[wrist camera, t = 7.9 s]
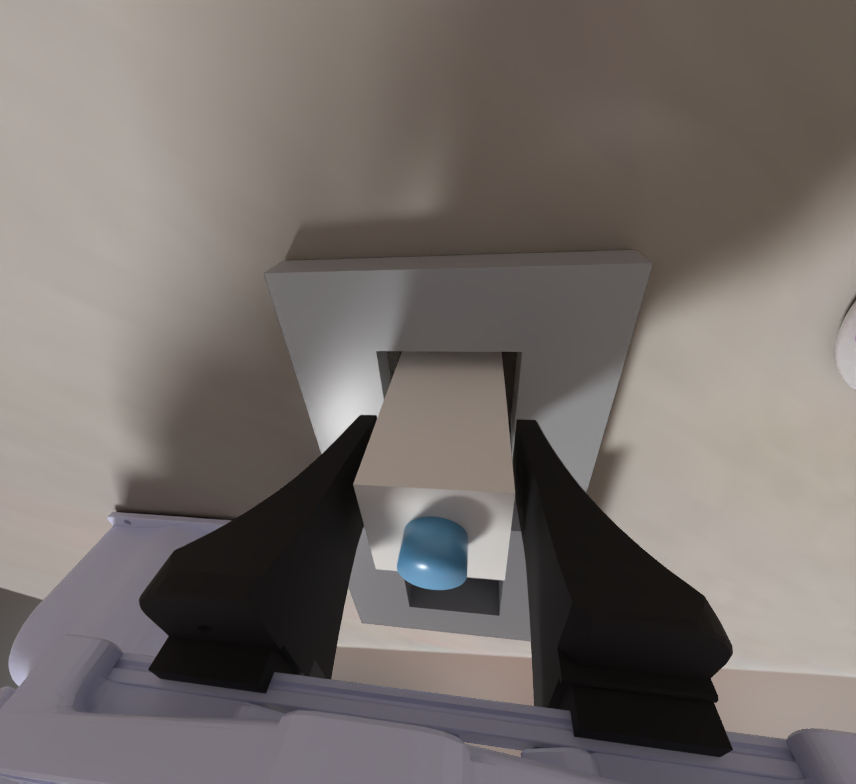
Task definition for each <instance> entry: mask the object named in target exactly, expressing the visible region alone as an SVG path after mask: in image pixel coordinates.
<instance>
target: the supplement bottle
mask: <svg viewBox="0 0 856 784" xmlns="http://www.w3.org/2000/svg"><path fill="white" fill-rule="evenodd" d="M835 359H836V364H837V367H838V370H839V372H840V374H841V375H842V377H843V378H844V380H845V381H846V382H847V383H848V384H849V385H850V386H851V387H852V388H853V389H855V390H856V301H855V302H854V304H853V305H852V306H851V308H850V309H849V311H848V313H847V314H846V316H845V318H844V320H843V322H842V324H841V327H840V329H839V332H838V335H837V339H836V344H835Z"/></svg>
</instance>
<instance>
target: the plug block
mask: <svg viewBox="0 0 856 784" xmlns="http://www.w3.org/2000/svg"><path fill="white" fill-rule="evenodd" d="M353 486H354V490H355V493H356V497H357V501H358V504H359V508H360V512H361V516H362V519H363V523H364V527H365V531H366V534H367V538H368V542H369V546H370V549H371V553H372V557H373V560H374V564H375V568H376V569H379V570H390V571H398V573H399V574H400V576H401V577H402V578H403V579H405V580H406V581H407V582H409V583H411V584H413V585H415V586H418V587H421V588H425V589H431V590H448V589H453V588H456V587H458V586H460V585H462V584H463V583H464V582H465V580H466V578H467V577H471V578H482V579H493V580H505V575H506V566H507V558H508V550H509V541H510V533H511V524H512V516H513V508H514V499H515V486H514V476H513V465H512V455H511V444H510V433H509V423H508V412H507V402H506V391H505V381H504V370H503V360H502V352H446V351H402V353H401V356H400V358H399V361H398V364H397V366H396V369H395V372H394V375H393V377H392V380H391V383H390V385H389V388H388V391H387V394H386V396H385V399H384V402H383V404H382V407H381V410H380V413H379V415H378V418H377V421H376V424H375V426H374V429H373V432H372V434H371V437H370V440H369V443H368V445H367V448H366V451H365V453H364V456H363V459H362V462H361V464H360V467H359V470H358V472H357V475H356V478H355V481H354V483H353Z"/></svg>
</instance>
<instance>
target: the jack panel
mask: <svg viewBox="0 0 856 784" xmlns="http://www.w3.org/2000/svg"><path fill="white" fill-rule="evenodd" d="M652 266H653V263H652V262H651V261H650V260H648V259H647V258H646V257H644V256H643V255H642V254H640V253H639V252H637V251H636V250H612V251H580V252H548V253H515V254H483V255H450V256H418V257H386V258H353V259H321V260H288V261H282V262H281V263H279V264H278V265H276V266H274V267H273V268H271V269H270V270H268V271H266V272H265V273H264V276H265V279H266V282H267V286H268V289H269V292H270V295H271V298H272V301H273V304H274V307H275V311H276V314H277V317H278V320H279V323H280V326H281V329H282V332H283V336H284V339H285V342H286V345H287V348H288V351H289V354H290V358H291V361H292V364H293V367H294V370H295V373H296V376H297V379H298V383H299V386H300V389H301V392H302V395H303V398H304V401H305V404H306V408H307V411H308V414H309V417H310V420H311V423H312V426H313V430H314V433H315V436H316V439H317V442H318V445H319V448H320V451H321V454H322V453H323V452H324V451H325V450H326V449H327V448H328V447H329V446H330V445H331V444H332V443H334V442H335V441H336V439H337V438H338V437H339V436H340V435H341V434H342V433H343V432H344V431H345V430H346V429H347V428H348V427H349V426H350V425H351V424H352V423H353V422H354V421H355V420H356V419H357V418H358V417H359V416H360V415H377V418H378V415H379V413H380V410H381V407H382V404H383V402H384V399H385V396H386V394H387V391H388V388H389V385H390V383H391V380H392V379H391V372H390V365H389V358H388V351H446V352H517V358H516V369H515V379H514V390H513V401H512V412H511V423H510V444H511V455H512V459H513V450H514V440H515V430H516V421H517V419H524V420H536V421H537V422H538V424H539V426H540V428H541V429H542V431H543V433H544V435H545V436H546V438H547V440H548V441H549V443H550V445H551V446H552V448H553V449H554V451H555V452H556V454H557V455H558V457H559V458H560V460H561V461H562V463H563V464H564V465H565V467H566V468H567V470H568V471H569V472H570V474H571V475H572V476H573V477H574V479H575V480H576V481H577V482H578V484H579V485H580V486H581V487H582V489H583V490H584V491H585V492H586V493H587V489H588V486H589V482H590V479H591V476H592V472H593V469H594V465H595V462H596V458H597V455H598V452H599V448H600V445H601V441H602V438H603V434H604V431H605V427H606V424H607V421H608V417H609V414H610V410H611V407H612V403H613V400H614V397H615V393H616V390H617V386H618V383H619V379H620V376H621V372H622V369H623V366H624V362H625V359H626V355H627V352H628V348H629V345H630V341H631V338H632V335H633V331H634V328H635V324H636V321H637V317H638V314H639V311H640V307H641V304H642V300H643V297H644V293H645V290H646V286H647V283H648V280H649V276H650V273H651V269H652ZM348 587H349V590H350V593H351V595H352V598H353V601H354V604H355V606H356V609H357V612H358V614H359V617H360V620H361V623H366V624H375V625H384V626H393V627H403V628H412V629H421V630H430V631H440V632H449V633H458V634H467V635H477V636H486V637H495V638H504V639H514V640H523V641H531V633H530V617H529V602H528V587H527V574H526V561H525V553H524V546H523V540H522V535H521V529H520V523H519V517H518V511H517V505H516V500H515V499H514V508H513V516H512V524H511V533H510V541H509V550H508V558H507V566H506V575H505V580H493V579H482V578H471V577H467V578H466V580H465V582H464V583H463V584H462V585H460V586H458V587H456V588H453V589H448V590H431V589H425V588H421V587H418V586H415V585H413V584H411V583H409V582H407V581H406V580H405V579H403V578H402V577H401V576H400V574H399V573H398V571H390V570H379V569H376V568H375V564H374V560H373V557H372V553H371V549H370V546H369V542H368V538H367V534H366V531H365V527H363V530H362V533H361V536H360V540H359V543H358V546H357V550H356V554H355V559H354V563H353V567H352V572H351V576H350V581H349V585H348Z"/></svg>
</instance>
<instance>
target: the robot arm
mask: <svg viewBox="0 0 856 784" xmlns="http://www.w3.org/2000/svg"><path fill="white" fill-rule="evenodd" d="M376 421H377V415H360V416H359V417H358V418H357V419H356V420H355V421H354V422H353V423H352V424H351V425H350V426H349V427H348V428H347V429H346V430H345V431H344V432H343V433H342V434H341V435H340V436H339V437H338V438H337V439H336V441H335V442H334V443H332V444H331V445H330V446H329V447H328V448H327V449H326V450H325V451H324V452H323V453H322V454H321V455H320V456H319V457H318V458H317V459H316V460H315V461H314V462H313V463H312V464H311V465H309V466H308V467H307V468H306V469H305V470H304V471H303V472H302V473H300V474H299V475H298V476H297V477H296V478H294V479H293V480H292V481H291V482H289V483H288V484H287V485H285V486H284V487H283V488H281V489H280V490H279V491H277V492H276V493H275V494H273V495H272V496H270V497H269V498H267V499H266V500H264V501H263V502H261V503H260V504H258V505H257V506H255V507H254V508H252V509H251V510H249V511H247V512H246V513H244V514H242V515H241V516H239V517H237V518H236V519H234V520H219V519H205V518H191V517H178V516H164V515H150V514H136V513H122V512H112V513H111V514H110V515H109V516H108V520H109V522H110V523H111V524H112V525H113V527H112V528H111V529H110V530H109V531H108V532H107V533H106V534H105V535H104V536H103V537H102V539H101V540H100V541H99V542H98V543H97V544H96V545H95V546H94V547H93V548H92V549H91V550H90V551H89V552H88V553H87V554H86V555H85V557H84V558H83V559H82V560H81V561H80V562H79V563H78V564H77V565H76V566H75V567H74V568H73V569H72V570H71V571H70V572H69V573H68V575H67V576H66V577H65V578H64V579H63V580H62V581H61V582H60V583H59V584H58V585H57V586H56V587H55V588H54V589H53V590H52V591H51V593H50V594H49V595H48V596H47V597H46V598H45V599H44V600H43V601H42V602H41V603H40V604H39V605H38V606H37V607H36V609H35V610H34V611H33V612H32V613H31V615H30V616H29V617H28V619H27V620H26V622H25V623H24V624H23V626H22V627H21V629H20V631H19V633H18V635H17V637H16V639H15V641H14V644H13V646H12V649H11V652H10V656H9V670H10V674H11V677H12V679H13V680H14V681H15V683H16V684H17V685H18V686H19V687H18V688H17V690H15V689H13V688H11V687H3V688H1V689H0V784H856V733H850V732H842V731H834V730H827V729H813V728H812V729H802V730H798V731H795V732H794V733H792V734H791V735H789V736H788V738H787V739H780V738H773V737H765V736H758V735H750V734H743V733H734V732H727V731H725V729H724V726H723V724H722V721H721V719H720V717H719V714H718V712H717V709H716V707H715V704H714V703H716V702H717V701H718V695H717V693H716V690H715V688H714V685H713V683H712V681H711V677H712V676H713V675H715V674H716V673H717V672H718V671H719V670H720V669H721V668H722V667H723V666H724V665H725V664H726V663H727V662H728V660H729V659H730V657H731V656H732V654H733V650H732V644H731V642H730V640H729V638H728V636H727V634H726V632H725V630H724V628H723V626H722V624H721V623H720V621H719V619H718V617H717V616H716V614H715V612H714V611H713V609H712V608H711V606H710V604H709V603H708V601H707V600H706V598H705V596H704V595H702V594H701V593H700V592H698V591H697V590H695V589H694V588H693V587H691V586H690V585H689V584H687V583H686V582H685V581H683V580H682V579H680V578H679V577H678V576H676V575H675V574H674V573H672V572H671V571H670V570H668V569H667V568H666V567H664V566H663V565H662V564H660V563H659V562H658V561H657V560H656V559H654V558H653V557H652V556H651V555H649V554H648V553H647V552H646V551H645V550H643V549H642V548H641V547H640V546H639V545H638V544H637V543H635V542H634V541H633V540H632V539H631V538H630V537H629V536H628V535H627V534H626V533H624V532H623V531H622V530H621V529H620V528H619V527H618V526H617V525H616V524H615V523H614V522H613V521H612V520H611V519H610V518H609V517H608V516H607V515H606V514H605V513H604V512H603V511H602V510H601V509H600V508H599V507H598V506H597V505H596V504H595V502H594V501H593V500H592V499H591V498H590V497H589V496H588V495H587V493H586V492H585V491H584V490H583V489H582V487H581V486H580V485H579V484H578V482H577V481H576V480H575V479H574V477H573V476H572V475H571V474H570V472H569V471H568V470H567V468H566V467H565V465H564V464H563V463H562V461H561V460H560V458H559V457H558V455H557V454H556V452H555V451H554V449H553V448H552V446H551V445H550V443H549V441H548V440H547V438H546V436H545V435H544V433H543V431H542V429H541V428H540V426H539V424H538V422H537V421H536V420H524V419H517V421H516V430H515V440H514V450H513V459H512V465H513V476H514V486H515V500H516V505H517V511H518V517H519V523H520V529H521V535H522V540H523V546H524V553H525V561H526V574H527V587H528V602H529V617H530V633H531V650H532V669H533V689H534V706H529V705H521V704H514V703H505V702H499V701H491V700H483V699H475V698H468V697H460V696H452V695H445V694H437V693H430V692H422V691H415V690H407V689H399V688H391V687H383V686H377V685H369V684H361V683H353V682H345V681H338V680H331V676H332V670H333V665H334V659H335V653H336V647H337V641H338V636H339V630H340V625H341V620H342V615H343V610H344V604H345V600H346V595H347V590H348V585H349V581H350V576H351V572H352V567H353V563H354V559H355V554H356V550H357V546H358V543H359V540H360V536H361V533H362V530H363V527H364V523H363V519H362V516H361V512H360V508H359V504H358V501H357V497H356V493H355V490H354V486H353V483H354V481H355V478H356V475H357V472H358V470H359V467H360V464H361V462H362V459H363V456H364V453H365V451H366V448H367V445H368V443H369V440H370V437H371V434H372V432H373V429H374V426H375V424H376ZM463 742H468V743H474V744H481V745H488V746H495V747H502V748H508V749H515V750H522V753H521V757H517V756H513V755H509V754H505V753H500V752H496V751H493V750H489V749H484V748H480V747H476V746H472V745H468V744H464V743H463Z"/></svg>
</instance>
